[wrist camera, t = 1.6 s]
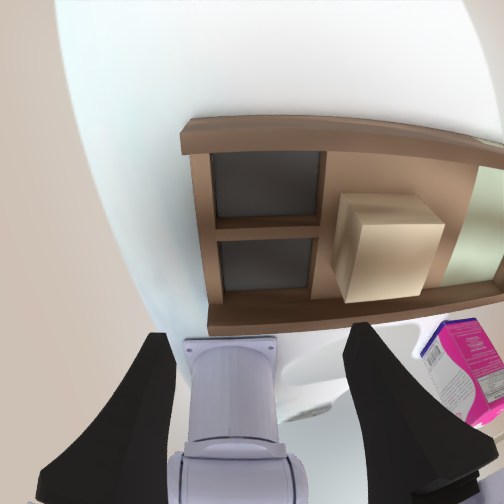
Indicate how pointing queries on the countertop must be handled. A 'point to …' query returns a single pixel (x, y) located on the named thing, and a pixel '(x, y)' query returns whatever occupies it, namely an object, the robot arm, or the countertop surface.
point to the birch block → (383, 245)
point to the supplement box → (466, 371)
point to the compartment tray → (335, 216)
